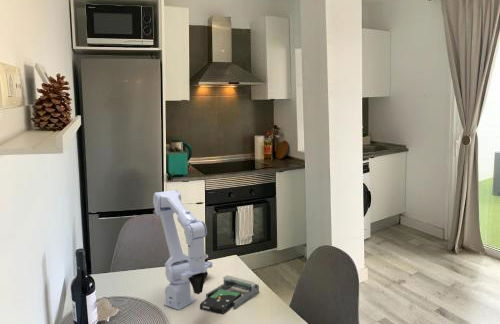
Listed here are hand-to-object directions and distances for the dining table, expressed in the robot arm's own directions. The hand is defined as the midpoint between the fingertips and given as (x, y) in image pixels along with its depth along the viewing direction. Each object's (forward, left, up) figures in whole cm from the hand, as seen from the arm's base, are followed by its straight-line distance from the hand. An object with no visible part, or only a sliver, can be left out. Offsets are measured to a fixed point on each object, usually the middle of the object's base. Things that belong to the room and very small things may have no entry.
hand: (198, 292), depth 147 cm
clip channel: (+20, 0, -9) cm, 22 cm away
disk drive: (+13, 0, -10) cm, 16 cm away
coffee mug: (+28, +24, -10) cm, 38 cm away
